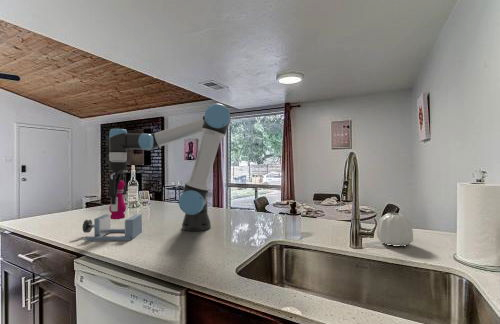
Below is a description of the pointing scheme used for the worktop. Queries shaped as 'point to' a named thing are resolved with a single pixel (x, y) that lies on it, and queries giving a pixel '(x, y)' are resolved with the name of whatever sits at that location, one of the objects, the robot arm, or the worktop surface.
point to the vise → (124, 230)
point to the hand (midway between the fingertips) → (117, 209)
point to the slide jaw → (98, 225)
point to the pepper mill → (119, 203)
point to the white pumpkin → (394, 229)
